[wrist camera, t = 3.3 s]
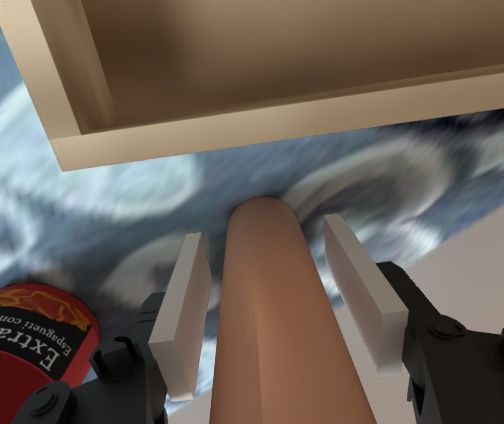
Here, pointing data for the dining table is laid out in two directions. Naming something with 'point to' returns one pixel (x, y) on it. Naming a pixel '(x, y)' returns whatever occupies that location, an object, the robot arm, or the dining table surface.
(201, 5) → the box
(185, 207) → the dining table surface
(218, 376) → the peg
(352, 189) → the dining table surface
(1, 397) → the canned food
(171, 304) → the robot arm
